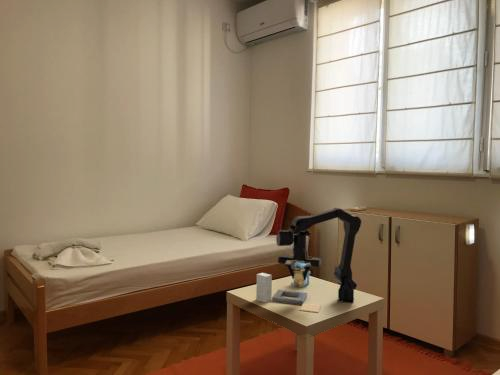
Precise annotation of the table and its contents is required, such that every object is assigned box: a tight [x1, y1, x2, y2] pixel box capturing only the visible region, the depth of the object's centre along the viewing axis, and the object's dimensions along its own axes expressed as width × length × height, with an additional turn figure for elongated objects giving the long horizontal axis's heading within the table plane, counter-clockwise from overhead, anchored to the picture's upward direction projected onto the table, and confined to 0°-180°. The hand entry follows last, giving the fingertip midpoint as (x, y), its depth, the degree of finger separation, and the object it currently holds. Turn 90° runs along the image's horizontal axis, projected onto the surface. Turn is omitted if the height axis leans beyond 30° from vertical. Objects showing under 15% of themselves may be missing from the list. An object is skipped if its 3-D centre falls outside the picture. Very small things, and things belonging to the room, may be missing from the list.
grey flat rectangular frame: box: [271, 289, 308, 306], centre depth 188 cm, size 14×12×2 cm
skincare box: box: [255, 272, 273, 304], centre depth 185 cm, size 6×4×12 cm
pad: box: [299, 302, 322, 314], centre depth 176 cm, size 8×8×1 cm
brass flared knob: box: [292, 267, 306, 288], centre depth 182 cm, size 6×6×7 cm
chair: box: [290, 262, 312, 287], centre depth 210 cm, size 8×8×12 cm
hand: (299, 279), depth 182 cm, fingers closed on brass flared knob, 5 cm apart
